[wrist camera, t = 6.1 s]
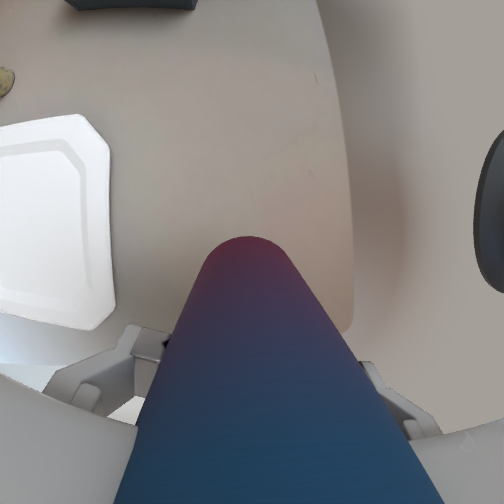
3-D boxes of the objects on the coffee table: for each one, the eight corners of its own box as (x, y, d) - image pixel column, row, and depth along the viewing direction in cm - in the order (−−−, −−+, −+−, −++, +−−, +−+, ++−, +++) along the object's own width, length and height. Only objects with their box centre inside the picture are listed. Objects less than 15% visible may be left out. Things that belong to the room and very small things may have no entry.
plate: (-11, 301, 32) (-19, 308, 30) (-28, 135, 24) (-39, 136, 22) (124, 327, 34) (119, 337, 32) (119, 112, 26) (111, 110, 24)
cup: (306, 209, 15) (563, 501, 1) (313, 325, 17) (409, 584, 3) (171, 229, 15) (-17, 554, 1) (197, 341, 17) (165, 612, 3)
